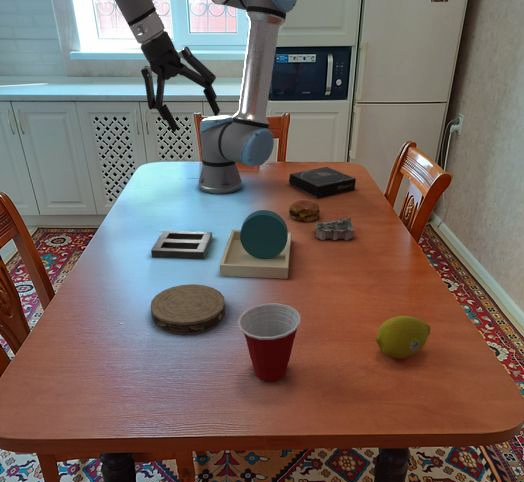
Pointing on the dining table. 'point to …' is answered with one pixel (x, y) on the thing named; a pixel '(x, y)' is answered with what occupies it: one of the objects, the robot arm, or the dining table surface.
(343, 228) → the egg carton
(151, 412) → the dining table surface
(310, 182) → the black box
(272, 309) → the plastic cup
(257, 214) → the disc
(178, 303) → the wood log slice
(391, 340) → the lemon
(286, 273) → the tray
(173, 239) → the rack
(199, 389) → the dining table surface
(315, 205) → the burger
